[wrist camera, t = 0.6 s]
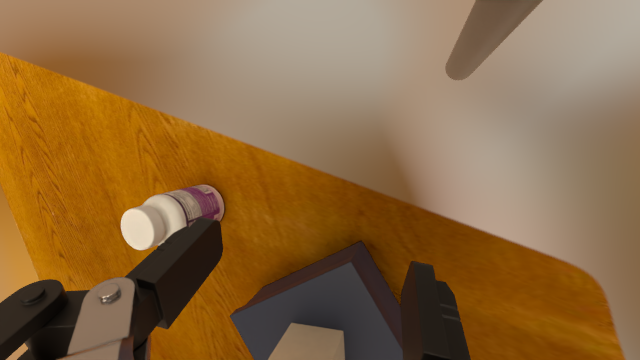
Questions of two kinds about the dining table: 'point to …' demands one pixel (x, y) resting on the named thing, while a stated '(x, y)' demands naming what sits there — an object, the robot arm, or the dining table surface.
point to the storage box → (327, 307)
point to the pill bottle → (169, 215)
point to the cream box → (309, 344)
